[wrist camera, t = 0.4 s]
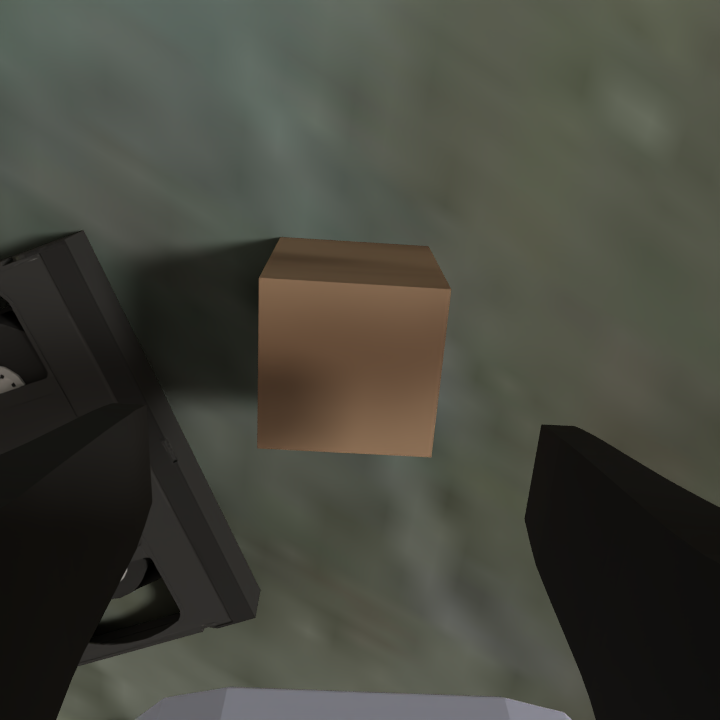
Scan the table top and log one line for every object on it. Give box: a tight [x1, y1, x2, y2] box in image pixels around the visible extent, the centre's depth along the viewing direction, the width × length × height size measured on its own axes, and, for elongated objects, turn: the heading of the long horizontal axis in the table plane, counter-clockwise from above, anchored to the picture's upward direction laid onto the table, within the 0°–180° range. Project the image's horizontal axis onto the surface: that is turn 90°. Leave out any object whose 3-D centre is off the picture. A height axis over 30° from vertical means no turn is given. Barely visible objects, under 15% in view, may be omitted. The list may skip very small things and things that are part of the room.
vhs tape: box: [0, 230, 260, 666], centre depth 22 cm, size 14×8×2 cm, turn 19°
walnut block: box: [257, 237, 451, 457], centre depth 19 cm, size 4×4×5 cm
